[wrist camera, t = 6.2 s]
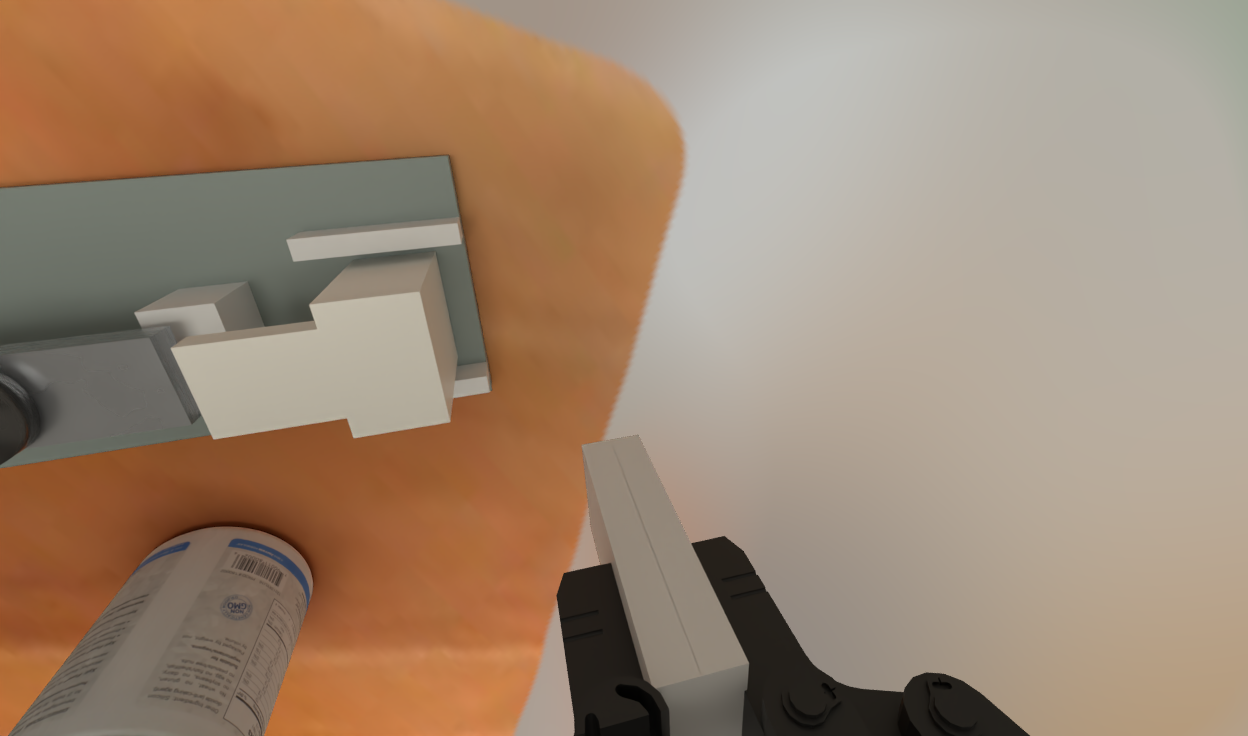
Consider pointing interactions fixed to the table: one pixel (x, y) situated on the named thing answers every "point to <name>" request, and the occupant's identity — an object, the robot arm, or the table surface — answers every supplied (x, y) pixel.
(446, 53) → the table surface
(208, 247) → the mount
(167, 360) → the grey long flat bar
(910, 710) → the robot arm
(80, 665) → the supplement tub
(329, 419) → the block
